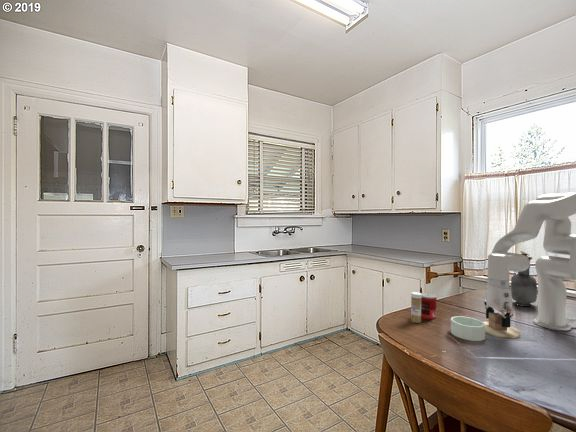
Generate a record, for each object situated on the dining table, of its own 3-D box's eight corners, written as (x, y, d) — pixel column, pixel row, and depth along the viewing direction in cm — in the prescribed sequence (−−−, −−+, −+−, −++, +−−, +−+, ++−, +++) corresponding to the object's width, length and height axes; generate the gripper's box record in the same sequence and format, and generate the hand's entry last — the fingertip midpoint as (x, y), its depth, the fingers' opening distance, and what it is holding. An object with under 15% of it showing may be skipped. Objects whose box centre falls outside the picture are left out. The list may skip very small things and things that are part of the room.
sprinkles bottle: (409, 321, 134) (409, 293, 134) (412, 319, 138) (412, 291, 138) (419, 324, 131) (420, 295, 131) (422, 321, 135) (422, 292, 135)
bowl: (473, 330, 125) (473, 316, 125) (491, 342, 113) (492, 327, 113) (445, 329, 125) (445, 315, 125) (460, 341, 113) (461, 326, 113)
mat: (504, 324, 131) (504, 323, 131) (536, 342, 113) (536, 340, 113) (464, 323, 132) (464, 322, 132) (490, 341, 114) (490, 339, 114)
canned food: (435, 315, 143) (435, 293, 143) (437, 321, 135) (437, 297, 135) (418, 313, 145) (418, 292, 145) (420, 319, 138) (420, 296, 138)
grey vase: (511, 306, 156) (512, 252, 156) (509, 298, 172) (510, 248, 171) (538, 310, 150) (538, 253, 150) (533, 301, 165) (534, 250, 165)
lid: (503, 324, 130) (503, 308, 130) (529, 339, 115) (530, 321, 115) (469, 323, 130) (469, 308, 130) (491, 338, 115) (491, 320, 115)
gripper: (522, 288, 113) (522, 331, 113) (493, 278, 131) (492, 315, 131) (503, 287, 114) (503, 330, 114) (476, 278, 131) (476, 315, 131)
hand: (497, 322), depth 122 cm, fingers open, 9 cm apart
